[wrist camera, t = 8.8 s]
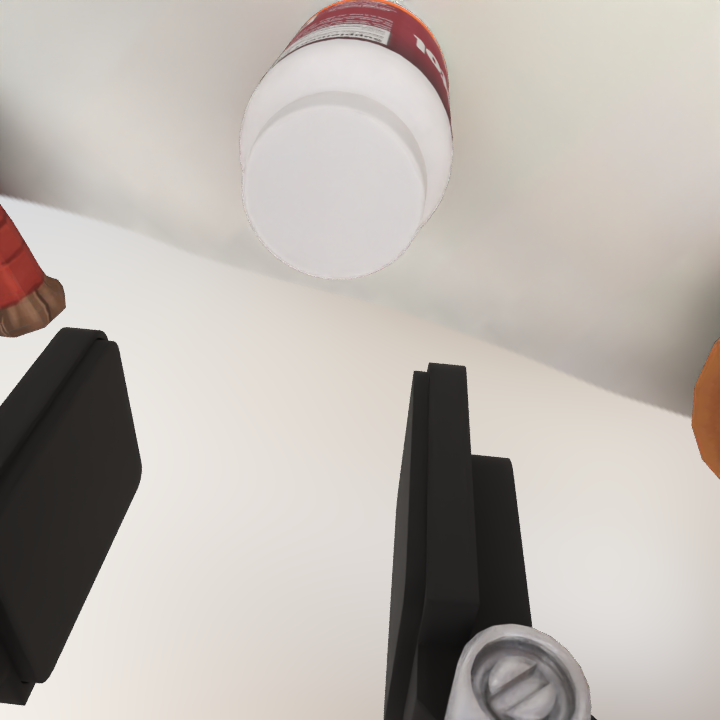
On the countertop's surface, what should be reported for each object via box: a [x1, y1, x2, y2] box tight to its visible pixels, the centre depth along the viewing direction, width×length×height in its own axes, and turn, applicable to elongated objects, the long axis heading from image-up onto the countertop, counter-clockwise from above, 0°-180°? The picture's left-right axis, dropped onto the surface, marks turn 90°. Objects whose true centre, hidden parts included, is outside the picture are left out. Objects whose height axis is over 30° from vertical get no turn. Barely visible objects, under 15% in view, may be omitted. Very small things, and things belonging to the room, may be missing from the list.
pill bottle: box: [240, 0, 453, 279], centre depth 22 cm, size 6×6×11 cm
